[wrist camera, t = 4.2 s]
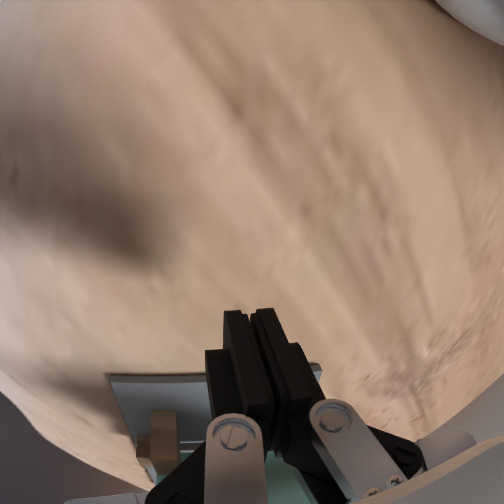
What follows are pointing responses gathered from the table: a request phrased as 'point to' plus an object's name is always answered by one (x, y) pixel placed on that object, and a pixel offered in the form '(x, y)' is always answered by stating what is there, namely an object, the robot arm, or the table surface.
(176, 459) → the hinge stand
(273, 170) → the table surface
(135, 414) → the mat board
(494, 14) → the donut
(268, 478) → the tile
